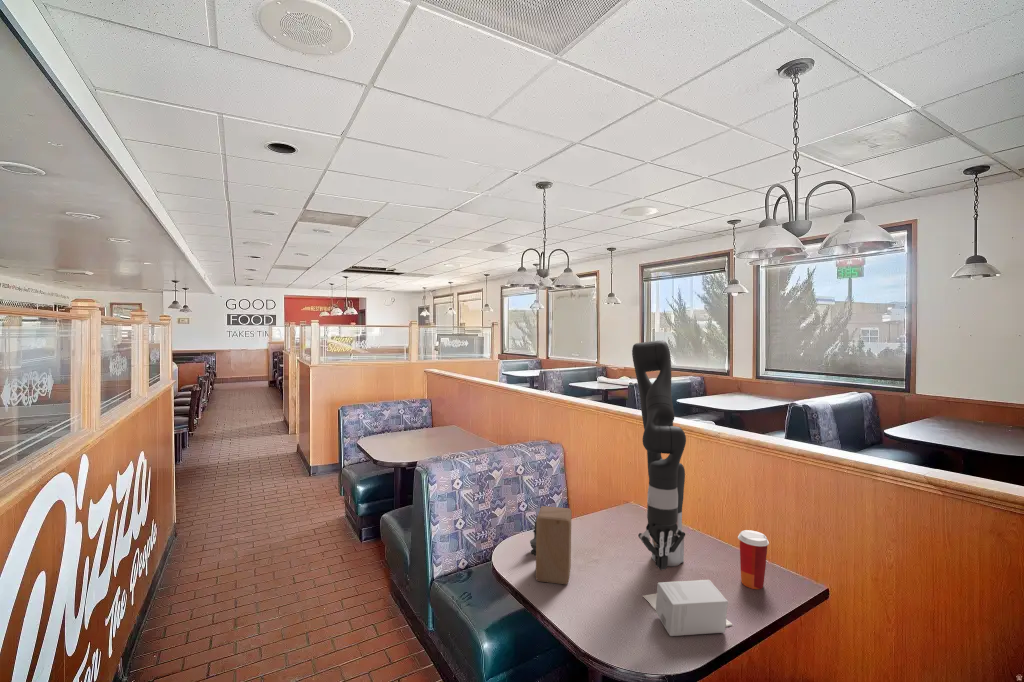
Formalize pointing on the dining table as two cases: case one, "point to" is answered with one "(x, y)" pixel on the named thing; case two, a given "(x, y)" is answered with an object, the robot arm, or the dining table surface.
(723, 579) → the dining table surface
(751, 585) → the coffee cup
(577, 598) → the dining table surface
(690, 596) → the supplement box
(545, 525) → the wooden block
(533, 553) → the salt shaker
